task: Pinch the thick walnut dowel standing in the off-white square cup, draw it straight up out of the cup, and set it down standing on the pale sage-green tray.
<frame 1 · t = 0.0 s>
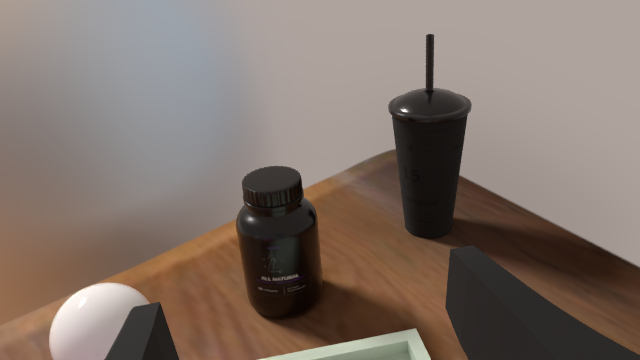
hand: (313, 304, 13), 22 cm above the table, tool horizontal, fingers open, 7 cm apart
supplement bottle: (287, 296, 46), on the table
drinking cup: (427, 227, 54), on the table
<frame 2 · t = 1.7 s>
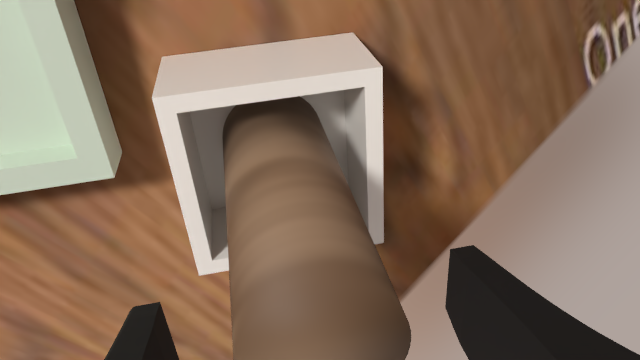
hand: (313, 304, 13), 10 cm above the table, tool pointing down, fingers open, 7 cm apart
walnut dowel: (272, 136, 21), point 1 cm above the table, touching square cup
square cup: (271, 130, 21), on the table
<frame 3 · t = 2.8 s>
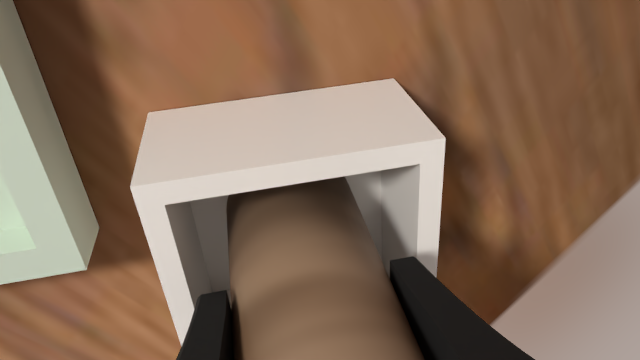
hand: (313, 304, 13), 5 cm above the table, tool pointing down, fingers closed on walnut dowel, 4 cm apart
walnut dowel: (290, 207, 16), point 1 cm above the table, touching gripper, square cup
square cup: (287, 197, 17), on the table
when the fingers open (6 cm above the table, at t = 7.2 s): walnut dowel stays where it is, resting on tray.
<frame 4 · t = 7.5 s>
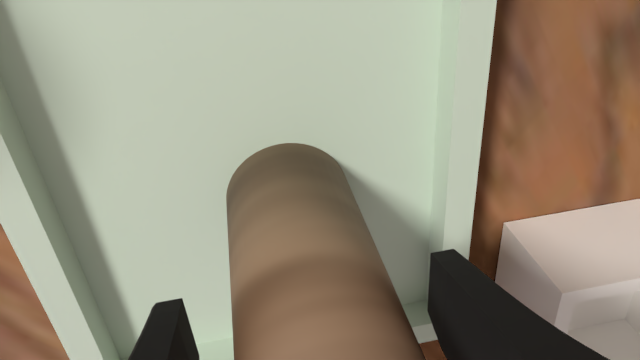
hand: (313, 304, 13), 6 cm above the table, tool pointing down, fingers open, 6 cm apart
walnut dowel: (288, 197, 17), point 1 cm above the table, touching tray
square cup: (570, 274, 23), on the table
tray: (242, 107, 16), on the table
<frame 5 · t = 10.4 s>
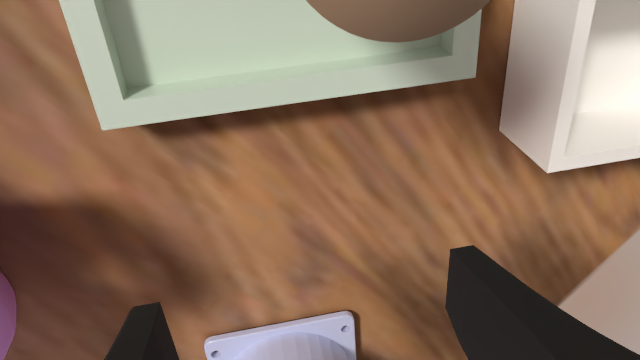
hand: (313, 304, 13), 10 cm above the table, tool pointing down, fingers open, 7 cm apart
square cup: (586, 43, 22), on the table
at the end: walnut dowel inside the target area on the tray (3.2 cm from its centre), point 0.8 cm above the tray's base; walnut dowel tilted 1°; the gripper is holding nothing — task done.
